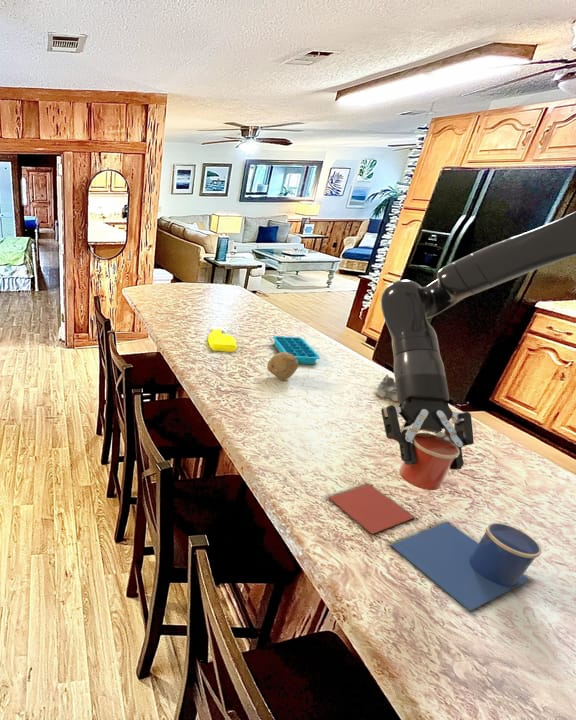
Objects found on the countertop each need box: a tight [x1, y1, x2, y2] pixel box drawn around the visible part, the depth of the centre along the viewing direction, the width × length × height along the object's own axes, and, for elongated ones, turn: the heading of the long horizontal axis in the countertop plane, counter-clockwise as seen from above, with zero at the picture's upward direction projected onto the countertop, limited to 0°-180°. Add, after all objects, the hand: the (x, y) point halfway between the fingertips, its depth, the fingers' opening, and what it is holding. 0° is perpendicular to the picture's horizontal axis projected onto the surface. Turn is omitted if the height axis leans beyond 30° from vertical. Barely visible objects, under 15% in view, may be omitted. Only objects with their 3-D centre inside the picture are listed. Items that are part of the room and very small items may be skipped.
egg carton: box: [376, 374, 399, 402], centre depth 123 cm, size 11×8×4 cm
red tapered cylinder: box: [398, 432, 460, 491], centre depth 70 cm, size 7×7×8 cm
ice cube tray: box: [272, 335, 321, 365], centre depth 151 cm, size 12×20×3 cm, turn 173°
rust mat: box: [328, 483, 415, 535], centre depth 81 cm, size 12×10×1 cm
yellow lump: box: [207, 326, 238, 353], centre depth 163 cm, size 3×11×24 cm
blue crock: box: [469, 522, 543, 586], centre depth 67 cm, size 7×7×8 cm
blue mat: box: [390, 521, 530, 612], centre depth 70 cm, size 16×13×1 cm
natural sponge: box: [267, 352, 299, 381], centre depth 131 cm, size 9×9×10 cm
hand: (432, 466), depth 69 cm, fingers closed on red tapered cylinder, 6 cm apart
